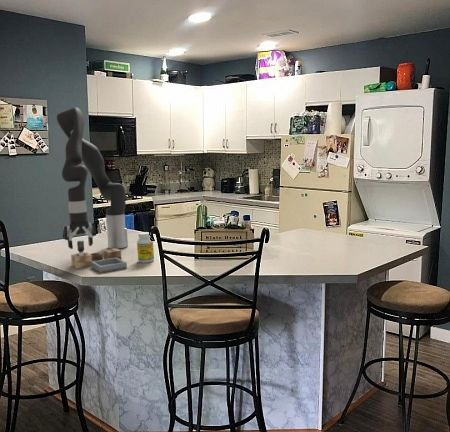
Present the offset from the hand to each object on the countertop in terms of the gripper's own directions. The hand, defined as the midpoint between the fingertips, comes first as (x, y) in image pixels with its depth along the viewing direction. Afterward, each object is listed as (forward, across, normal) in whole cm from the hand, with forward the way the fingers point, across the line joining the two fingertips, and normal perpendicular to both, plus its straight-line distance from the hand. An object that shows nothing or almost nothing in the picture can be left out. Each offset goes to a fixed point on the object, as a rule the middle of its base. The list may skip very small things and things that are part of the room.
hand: (80, 247), depth 222 cm
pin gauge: (+8, 0, 0) cm, 8 cm away
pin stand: (+8, -8, -5) cm, 13 cm away
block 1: (+8, 0, 0) cm, 8 cm away
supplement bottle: (+9, -26, +11) cm, 29 cm away
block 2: (+8, -14, +1) cm, 16 cm away
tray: (+8, -8, +12) cm, 17 cm away
